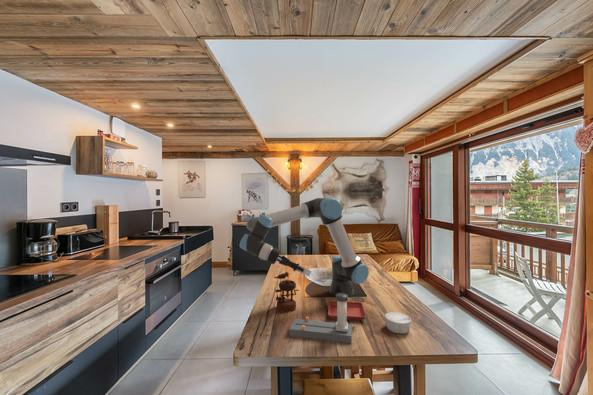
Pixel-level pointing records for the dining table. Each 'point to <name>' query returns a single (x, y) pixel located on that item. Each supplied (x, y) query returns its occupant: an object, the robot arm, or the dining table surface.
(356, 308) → the plant saucer
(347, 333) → the fader console
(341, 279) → the robot arm
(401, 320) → the ramekin
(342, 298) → the handle
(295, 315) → the dining table surface
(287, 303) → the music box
